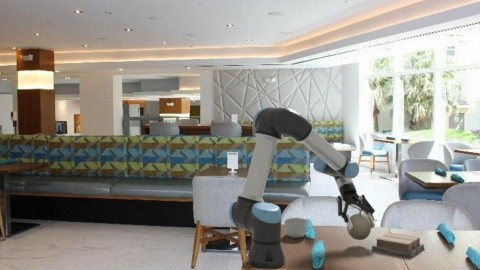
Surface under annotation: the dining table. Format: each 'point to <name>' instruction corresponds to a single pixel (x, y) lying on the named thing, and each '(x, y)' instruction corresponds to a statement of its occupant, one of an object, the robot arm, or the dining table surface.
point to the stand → (398, 244)
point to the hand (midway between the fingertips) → (362, 227)
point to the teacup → (295, 227)
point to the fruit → (359, 225)
